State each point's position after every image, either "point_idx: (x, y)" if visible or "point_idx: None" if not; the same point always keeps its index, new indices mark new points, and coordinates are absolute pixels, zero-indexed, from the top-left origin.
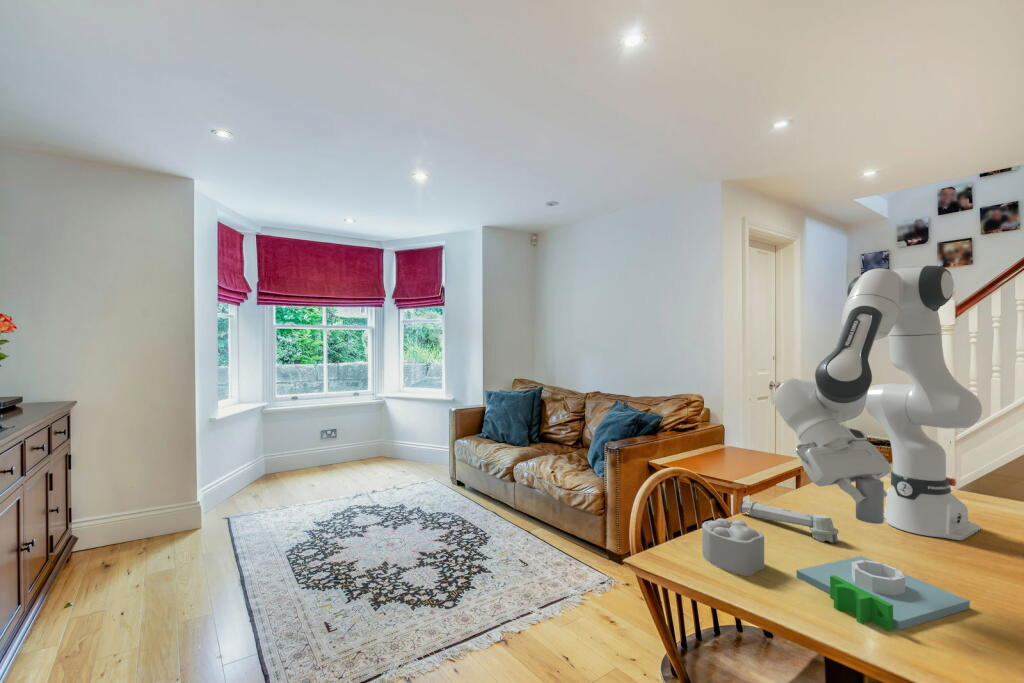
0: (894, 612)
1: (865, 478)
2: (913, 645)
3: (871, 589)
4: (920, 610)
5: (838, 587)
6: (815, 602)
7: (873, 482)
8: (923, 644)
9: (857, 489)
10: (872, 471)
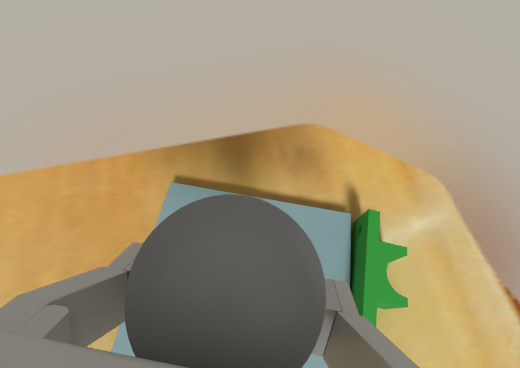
0: (329, 228)
1: (169, 346)
2: (365, 193)
3: None
4: (282, 209)
5: (403, 297)
6: (400, 341)
7: (258, 240)
8: (350, 188)
9: (347, 317)
10: (8, 338)
